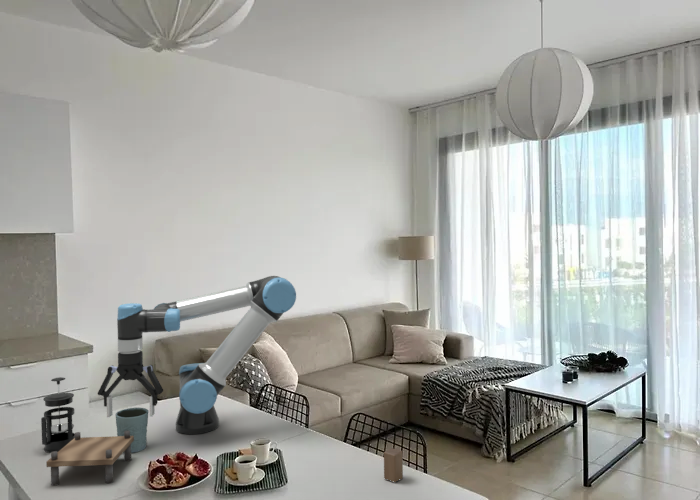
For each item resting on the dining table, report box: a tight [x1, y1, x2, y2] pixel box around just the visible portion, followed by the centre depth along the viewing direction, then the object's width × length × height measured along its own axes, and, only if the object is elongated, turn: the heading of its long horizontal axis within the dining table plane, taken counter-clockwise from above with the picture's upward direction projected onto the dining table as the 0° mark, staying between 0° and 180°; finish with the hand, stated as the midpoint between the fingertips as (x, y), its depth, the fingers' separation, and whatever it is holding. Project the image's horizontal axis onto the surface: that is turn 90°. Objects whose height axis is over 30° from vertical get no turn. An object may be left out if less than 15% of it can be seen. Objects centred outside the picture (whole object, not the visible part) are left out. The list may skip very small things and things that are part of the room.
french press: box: [40, 376, 75, 453], centre depth 182 cm, size 12×9×23 cm
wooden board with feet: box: [45, 430, 134, 486], centre depth 163 cm, size 18×18×9 cm
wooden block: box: [383, 447, 404, 483], centre depth 155 cm, size 4×4×8 cm
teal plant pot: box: [115, 407, 150, 454], centre depth 180 cm, size 10×10×12 cm
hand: (131, 415), depth 180 cm, fingers open, 13 cm apart
